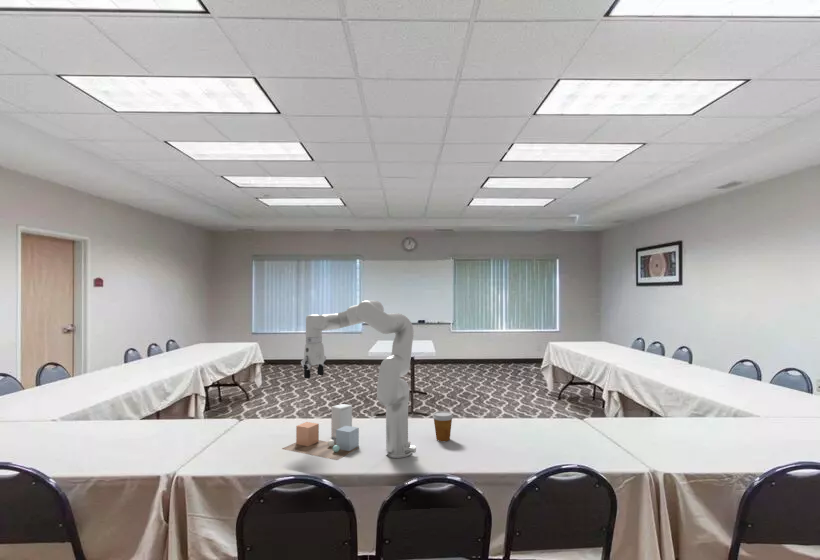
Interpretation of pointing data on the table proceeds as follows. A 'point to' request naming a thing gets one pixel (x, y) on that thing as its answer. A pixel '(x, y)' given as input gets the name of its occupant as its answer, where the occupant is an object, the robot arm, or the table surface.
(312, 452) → the walnut board
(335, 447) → the marble teal
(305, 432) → the peach cube block
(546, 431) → the table surface
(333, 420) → the skincare box
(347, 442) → the pale blue cube
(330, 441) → the marble ivory
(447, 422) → the disposable coffee cup
